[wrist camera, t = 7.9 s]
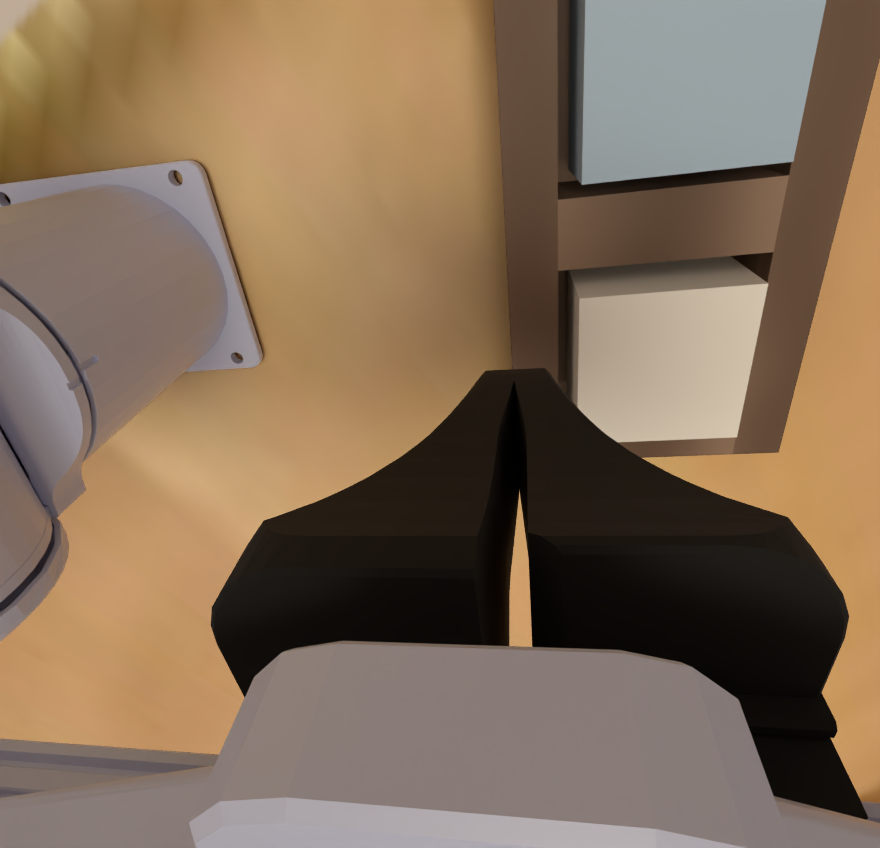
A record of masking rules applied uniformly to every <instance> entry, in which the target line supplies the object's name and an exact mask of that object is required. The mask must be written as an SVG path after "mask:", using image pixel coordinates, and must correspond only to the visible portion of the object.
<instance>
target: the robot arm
mask: <svg viewBox="0 0 880 848" xmlns="http://www.w3.org/2000/svg"><path fill="white" fill-rule="evenodd" d="M175 170H176V171H178V172H179V173H180V174H181V176H182V179H183V182H182V184H179V183H178V182H177V181H176V180H175V178H174V172H175ZM4 194H6V195H7V196H8V197H9V198H10V202H11V204H10V203H9V202H8V201H7V200H6V199H5V195H4ZM235 352H236V353H239V354H241V355H242V357H243V360H240V359H238V358H237V357H236V355H235ZM262 358H263V354H262V350H261V347H260V344H259V341H258V338H257V334H256V331H255V328H254V325H253V322H252V319H251V315H250V312H249V309H248V306H247V303H246V299H245V296H244V293H243V290H242V287H241V283H240V280H239V277H238V274H237V271H236V268H235V264H234V261H233V258H232V255H231V252H230V248H229V245H228V242H227V239H226V236H225V232H224V229H223V226H222V223H221V220H220V216H219V213H218V210H217V207H216V204H215V201H214V197H213V194H212V191H211V188H210V185H209V181H208V178H207V175H206V172H205V170H204V168H203V167H202V166H201V165H200V164H199V163H197V162H196V161H194V160H183V161H175V162H168V163H160V164H152V165H144V166H137V167H129V168H121V169H113V170H106V171H98V172H90V173H82V174H75V175H67V176H59V177H52V178H44V179H36V180H28V181H21V182H13V183H5V184H0V641H2V640H3V639H4V638H5V637H6V636H8V635H9V634H10V633H11V632H12V631H13V630H14V629H15V628H17V627H18V626H19V625H20V624H21V623H22V622H23V621H24V620H25V619H26V618H27V617H28V616H29V615H30V614H31V613H32V612H33V611H34V610H35V609H36V608H37V607H38V606H39V605H40V604H41V602H42V601H43V600H44V598H45V597H46V596H47V595H48V593H49V592H50V591H51V589H52V588H53V587H54V586H55V584H56V582H57V581H58V579H59V577H60V575H61V574H62V572H63V570H64V567H65V564H66V561H67V558H68V551H69V542H68V538H67V534H66V531H65V529H64V528H63V526H62V524H61V522H60V521H59V520H58V519H57V517H58V516H59V515H60V514H61V513H63V512H64V511H65V510H66V509H67V508H68V507H69V506H70V505H71V504H72V503H73V502H74V501H75V500H76V499H77V498H78V497H79V496H80V495H81V494H82V493H83V492H84V491H85V490H86V488H85V485H84V482H83V480H82V475H81V465H82V463H83V462H84V461H85V460H86V459H87V458H88V457H89V456H90V455H92V454H93V453H94V452H95V451H96V450H97V449H98V448H99V447H101V446H102V445H103V444H104V443H105V442H106V441H107V440H109V439H110V438H111V437H112V436H113V435H114V434H115V433H116V432H118V431H119V430H120V429H121V428H122V427H123V426H124V425H125V424H127V423H128V422H129V421H130V420H131V419H132V418H133V417H134V416H136V415H137V414H138V413H139V412H140V411H141V410H142V409H143V408H145V407H146V406H147V405H148V404H149V403H150V402H151V401H152V400H154V399H155V398H156V397H157V396H158V395H159V394H160V393H162V392H163V391H164V390H165V389H166V388H167V387H168V386H169V385H171V384H172V383H173V382H174V381H175V380H176V379H177V378H178V377H180V376H181V375H182V374H183V373H184V372H194V371H209V370H224V369H238V368H252V367H256V366H257V365H258V364H259V363H260V362H261V361H262ZM519 489H520V496H521V504H522V511H523V519H524V526H525V534H526V541H527V549H528V556H529V575H530V598H531V622H532V646H533V647H515V646H509V590H510V574H511V564H512V555H513V546H514V536H515V527H516V518H517V508H518V499H519ZM848 619H849V614H848V611H847V607H846V603H845V600H844V596H843V593H842V592H841V590H840V589H839V587H838V586H837V584H836V583H835V581H834V580H833V578H832V576H831V575H830V573H829V572H828V570H827V569H826V567H825V565H824V564H823V562H822V561H821V560H820V558H819V557H818V555H817V554H816V552H815V551H814V550H813V548H812V547H811V545H810V544H809V543H808V542H807V541H806V539H805V538H804V537H803V536H802V534H801V533H800V532H799V531H798V529H797V528H796V527H795V526H794V524H793V523H792V522H791V520H790V519H789V518H788V517H785V516H782V515H779V514H776V513H773V512H770V511H767V510H763V509H760V508H757V507H754V506H751V505H748V504H745V503H742V502H738V501H735V500H732V499H729V498H726V497H723V496H721V495H718V494H716V493H713V492H711V491H708V490H706V489H704V488H701V487H699V486H696V485H694V484H691V483H689V482H687V481H685V480H683V479H680V478H678V477H676V476H674V475H672V474H670V473H668V472H666V471H664V470H662V469H660V468H659V467H657V466H655V465H653V464H651V463H649V462H647V461H646V460H644V459H642V458H640V457H639V456H637V455H636V454H634V453H632V452H631V451H629V450H628V449H626V448H625V447H623V446H622V445H620V444H619V443H618V442H616V441H615V440H613V439H612V438H610V437H609V436H608V435H606V434H605V433H604V432H603V431H601V430H600V429H599V428H598V427H597V426H596V425H595V424H594V423H593V422H591V421H590V420H589V419H588V418H587V417H586V416H585V415H584V414H583V413H582V412H581V411H580V410H579V409H578V407H577V406H576V405H575V404H574V403H573V402H572V401H571V400H570V399H569V398H568V396H567V395H566V394H565V393H564V392H563V390H562V389H561V388H560V387H559V385H558V384H557V383H556V381H555V380H554V378H553V377H552V375H551V373H550V372H549V371H548V370H547V369H546V368H532V369H513V370H493V371H485V372H484V373H483V374H482V375H481V377H480V378H479V379H478V381H477V382H476V383H475V385H474V386H473V387H472V389H471V390H470V391H469V392H468V394H467V395H466V396H465V397H464V399H463V400H462V401H461V402H460V403H459V405H458V406H457V407H456V408H455V409H454V410H453V411H452V413H451V414H450V415H449V416H448V417H447V418H446V419H445V420H444V421H443V422H442V423H441V424H440V425H439V426H438V427H437V428H436V429H435V430H434V431H433V432H432V433H431V434H430V435H429V436H427V437H426V438H425V439H424V440H423V441H421V442H420V443H419V444H418V445H416V446H415V447H414V448H412V449H411V450H410V451H408V452H407V453H406V454H404V455H403V456H402V457H400V458H399V459H397V460H395V461H394V462H392V463H390V464H389V465H387V466H386V467H384V468H382V469H381V470H379V471H378V472H376V473H374V474H373V475H371V476H369V477H368V478H366V479H364V480H362V481H360V482H358V483H356V484H354V485H352V486H350V487H348V488H346V489H344V490H342V491H340V492H338V493H335V494H333V495H331V496H329V497H327V498H324V499H322V500H320V501H317V502H315V503H312V504H309V505H307V506H304V507H301V508H298V509H296V510H293V511H290V512H288V513H285V514H282V515H279V516H277V517H274V518H271V519H267V520H264V521H263V523H262V524H261V526H260V527H259V528H258V530H257V531H256V533H255V534H254V536H253V538H252V539H251V541H250V542H249V544H248V545H247V547H246V549H245V550H244V552H243V554H242V556H241V557H240V559H239V561H238V562H237V564H236V566H235V568H234V569H233V571H232V573H231V575H230V576H229V578H228V580H227V582H226V583H225V585H224V587H223V589H222V590H221V592H220V594H219V596H218V598H217V599H216V601H215V603H214V605H213V606H212V616H211V627H212V630H213V633H214V636H215V639H216V642H217V645H218V647H219V649H220V651H221V653H222V655H223V657H224V658H225V660H226V662H227V664H228V666H229V668H230V670H231V672H232V674H233V676H234V678H235V680H236V682H237V684H238V685H239V687H240V689H241V691H242V693H243V695H244V697H245V698H244V701H243V703H242V705H241V707H240V710H239V712H238V714H237V716H236V719H235V721H234V723H233V725H232V727H231V730H230V732H229V734H228V736H227V739H226V741H225V743H224V745H223V748H222V750H221V752H220V754H219V755H217V754H204V753H190V752H176V751H162V750H149V749H135V748H121V747H107V746H94V745H80V744H66V743H53V742H39V741H25V740H11V739H0V848H880V803H876V802H862V801H860V799H859V797H858V794H857V792H856V790H855V788H854V786H853V784H852V782H851V780H850V778H849V776H848V774H847V772H846V770H845V768H844V766H843V763H842V761H841V759H840V757H839V755H838V753H837V751H836V749H835V747H834V745H833V743H832V741H831V739H830V738H834V737H835V735H836V733H837V725H836V721H835V719H834V717H833V715H832V713H831V711H830V709H829V707H828V705H827V703H826V701H825V699H824V697H823V695H822V693H821V692H822V690H823V688H824V685H825V683H826V681H827V678H828V676H829V674H830V671H831V669H832V667H833V664H834V662H835V660H836V657H837V655H838V653H839V650H840V648H841V646H842V643H843V641H844V638H845V634H846V629H847V624H848Z"/></svg>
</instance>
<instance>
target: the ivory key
mask: <svg viewBox="0 0 880 848" xmlns="http://www.w3.org/2000/svg"><path fill="white" fill-rule="evenodd" d="M767 288H768V283H767V282H766V281H764V280H763V279H762V278H760V277H759V276H757V275H756V274H755V273H753V272H752V271H750V270H749V269H748V268H746V267H745V266H743V265H742V264H741V263H739V262H738V261H736V260H735V259H734V258H732V257H731V256H723V257H712V258H700V259H689V260H677V261H666V262H655V263H643V264H632V265H620V266H609V267H597V268H586V269H575V270H568V295H567V396H568V398H569V399H570V400H571V401H572V402H573V403H574V404H575V405H576V406H577V407H578V409H579V410H580V411H581V412H582V413H583V414H584V415H585V416H586V417H587V418H588V419H589V420H590V421H591V422H593V423H594V424H595V425H596V426H597V427H598V428H599V429H600V430H601V431H603V432H604V433H605V434H606V435H608V436H609V437H610V438H612V439H613V440H615V441H616V442H638V441H662V440H686V439H709V438H733V437H737V435H738V430H739V425H740V420H741V415H742V410H743V405H744V401H745V396H746V391H747V386H748V381H749V376H750V371H751V366H752V361H753V357H754V352H755V347H756V342H757V337H758V332H759V327H760V322H761V317H762V313H763V308H764V303H765V298H766V293H767Z"/></svg>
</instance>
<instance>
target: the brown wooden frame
mask: <svg viewBox="0 0 880 848" xmlns="http://www.w3.org/2000/svg"><path fill="white" fill-rule="evenodd" d="M494 18H495V38H496V57H497V77H498V97H499V116H500V136H501V155H502V175H503V195H504V214H505V234H506V253H507V273H508V293H509V312H510V332H511V351H512V370H513V369H532V368H546V369H547V370H548V371H549V372H550V373H551V375H552V377H553V378H554V380H555V381H556V383H557V384H558V385H559V387H560V388H561V389H562V390H563V392H564V393H565V394H566V395H567V295H568V270H575V269H586V268H597V267H609V266H620V265H632V264H643V263H655V262H666V261H677V260H689V259H700V258H712V257H723V256H731V257H732V258H734V259H735V260H736V261H738V262H739V263H741V264H742V265H743V266H745V267H746V268H748V269H749V270H750V271H752V272H753V273H755V274H756V275H757V276H759V277H760V278H762V279H763V280H764V281H766V282H767V283H768V288H767V293H766V298H765V303H764V308H763V313H762V317H761V322H760V327H759V332H758V337H757V342H756V347H755V352H754V357H753V361H752V366H751V371H750V376H749V381H748V386H747V391H746V396H745V401H744V405H743V410H742V415H741V420H740V425H739V430H738V435H737V437H733V438H709V439H686V440H662V441H638V442H618V443H619V444H620V445H622V446H623V447H625V448H626V449H628V450H629V451H631V452H632V453H634V454H636V455H637V456H639V457H640V458H644V457H670V456H697V455H723V454H750V453H776V452H779V448H780V444H781V441H782V437H783V433H784V429H785V425H786V421H787V417H788V413H789V409H790V406H791V402H792V398H793V394H794V390H795V386H796V382H797V378H798V374H799V371H800V367H801V363H802V359H803V355H804V351H805V347H806V343H807V339H808V336H809V332H810V328H811V324H812V320H813V316H814V312H815V308H816V304H817V301H818V297H819V293H820V289H821V285H822V281H823V277H824V273H825V269H826V266H827V262H828V258H829V254H830V250H831V246H832V242H833V238H834V234H835V231H836V227H837V223H838V219H839V215H840V211H841V207H842V203H843V199H844V195H845V192H846V188H847V184H848V180H849V176H850V172H851V168H852V164H853V160H854V157H855V153H856V149H857V145H858V141H859V137H860V133H861V129H862V125H863V122H864V118H865V114H866V110H867V106H868V102H869V98H870V94H871V90H872V87H873V83H874V79H875V75H876V71H877V67H878V63H879V59H880V0H826V5H825V10H824V14H823V19H822V24H821V29H820V34H819V39H818V44H817V49H816V54H815V58H814V63H813V68H812V73H811V78H810V83H809V88H808V93H807V98H806V102H805V107H804V112H803V117H802V122H801V127H800V132H799V137H798V141H797V146H796V151H795V156H794V161H793V162H786V163H777V164H768V165H759V166H749V167H740V168H731V169H722V170H713V171H704V172H695V173H685V174H676V175H667V176H658V177H649V178H640V179H631V180H622V181H612V182H603V183H594V184H585V185H582V184H581V183H580V182H579V181H578V180H577V179H576V178H575V176H574V175H573V174H572V173H571V172H570V171H569V170H568V160H569V26H570V0H494Z"/></svg>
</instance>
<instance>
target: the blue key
mask: <svg viewBox="0 0 880 848" xmlns="http://www.w3.org/2000/svg"><path fill="white" fill-rule="evenodd" d="M825 5H826V0H570V26H569V160H568V170H569V171H570V172H571V173H572V174H573V175H574V176H575V178H576V179H577V180H578V181H579V182H580V183H581V184H582V185H585V184H594V183H603V182H612V181H622V180H631V179H640V178H649V177H658V176H667V175H676V174H685V173H695V172H704V171H713V170H722V169H731V168H740V167H749V166H759V165H768V164H777V163H786V162H793V161H794V156H795V151H796V146H797V141H798V137H799V132H800V127H801V122H802V117H803V112H804V107H805V102H806V98H807V93H808V88H809V83H810V78H811V73H812V68H813V63H814V58H815V54H816V49H817V44H818V39H819V34H820V29H821V24H822V19H823V14H824V10H825Z"/></svg>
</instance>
